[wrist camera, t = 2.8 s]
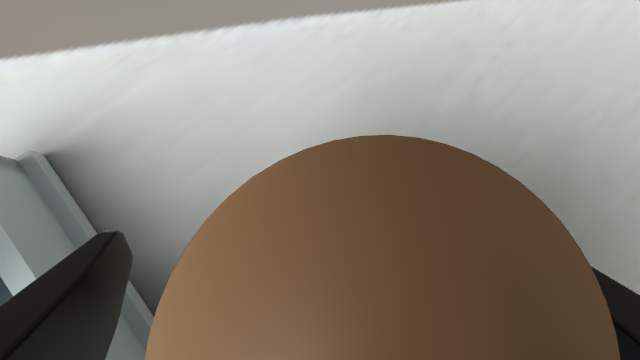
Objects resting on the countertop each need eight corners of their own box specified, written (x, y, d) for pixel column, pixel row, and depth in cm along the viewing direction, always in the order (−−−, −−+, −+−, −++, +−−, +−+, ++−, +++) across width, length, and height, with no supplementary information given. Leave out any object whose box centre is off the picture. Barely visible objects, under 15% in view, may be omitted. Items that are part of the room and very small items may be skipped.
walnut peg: (352, 222, 16) (621, 170, 3) (342, 303, 15) (626, 684, 2) (274, 211, 16) (197, 101, 3) (261, 293, 15) (83, 649, 2)
